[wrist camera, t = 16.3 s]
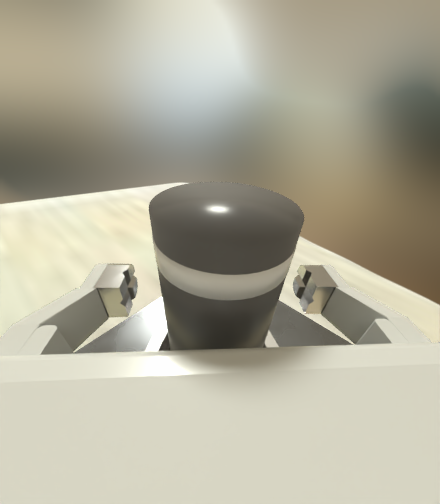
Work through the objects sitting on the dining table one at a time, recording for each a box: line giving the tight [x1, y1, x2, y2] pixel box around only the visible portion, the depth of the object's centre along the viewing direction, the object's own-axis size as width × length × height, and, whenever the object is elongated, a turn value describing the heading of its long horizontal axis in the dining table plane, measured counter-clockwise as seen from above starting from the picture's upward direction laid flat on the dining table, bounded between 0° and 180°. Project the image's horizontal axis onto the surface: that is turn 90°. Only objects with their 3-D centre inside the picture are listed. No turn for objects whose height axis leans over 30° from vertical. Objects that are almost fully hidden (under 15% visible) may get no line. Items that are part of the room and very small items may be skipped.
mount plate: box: [74, 297, 353, 354], centre depth 14 cm, size 18×16×3 cm
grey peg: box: [149, 182, 304, 351], centre depth 11 cm, size 5×5×12 cm
